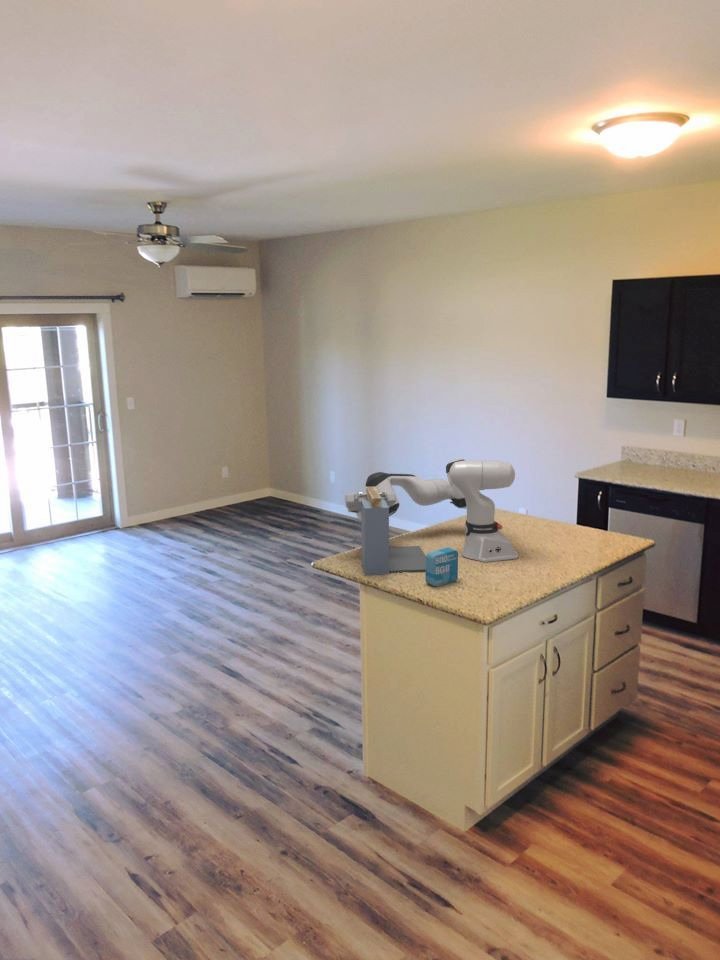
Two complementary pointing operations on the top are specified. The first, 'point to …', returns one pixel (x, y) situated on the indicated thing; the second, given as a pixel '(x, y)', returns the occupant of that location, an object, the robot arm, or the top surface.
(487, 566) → the top surface
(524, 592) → the top surface
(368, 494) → the maple rod
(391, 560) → the rubber mat
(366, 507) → the slate block
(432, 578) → the data package
